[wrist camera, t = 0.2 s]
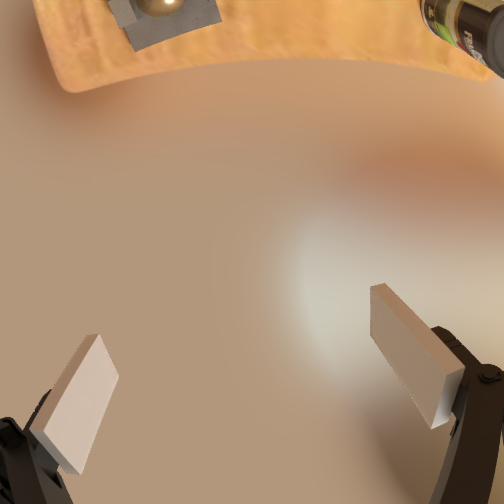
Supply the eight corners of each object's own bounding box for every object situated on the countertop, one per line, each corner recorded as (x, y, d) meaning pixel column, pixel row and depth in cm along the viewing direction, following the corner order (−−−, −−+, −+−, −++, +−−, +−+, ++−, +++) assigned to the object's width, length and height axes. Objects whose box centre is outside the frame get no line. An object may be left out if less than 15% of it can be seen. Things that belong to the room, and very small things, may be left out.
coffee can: (447, 52, 34) (507, 95, 25) (408, 7, 29) (474, 38, 20) (481, 15, 27) (546, 51, 19) (446, -32, 22) (518, -10, 14)
